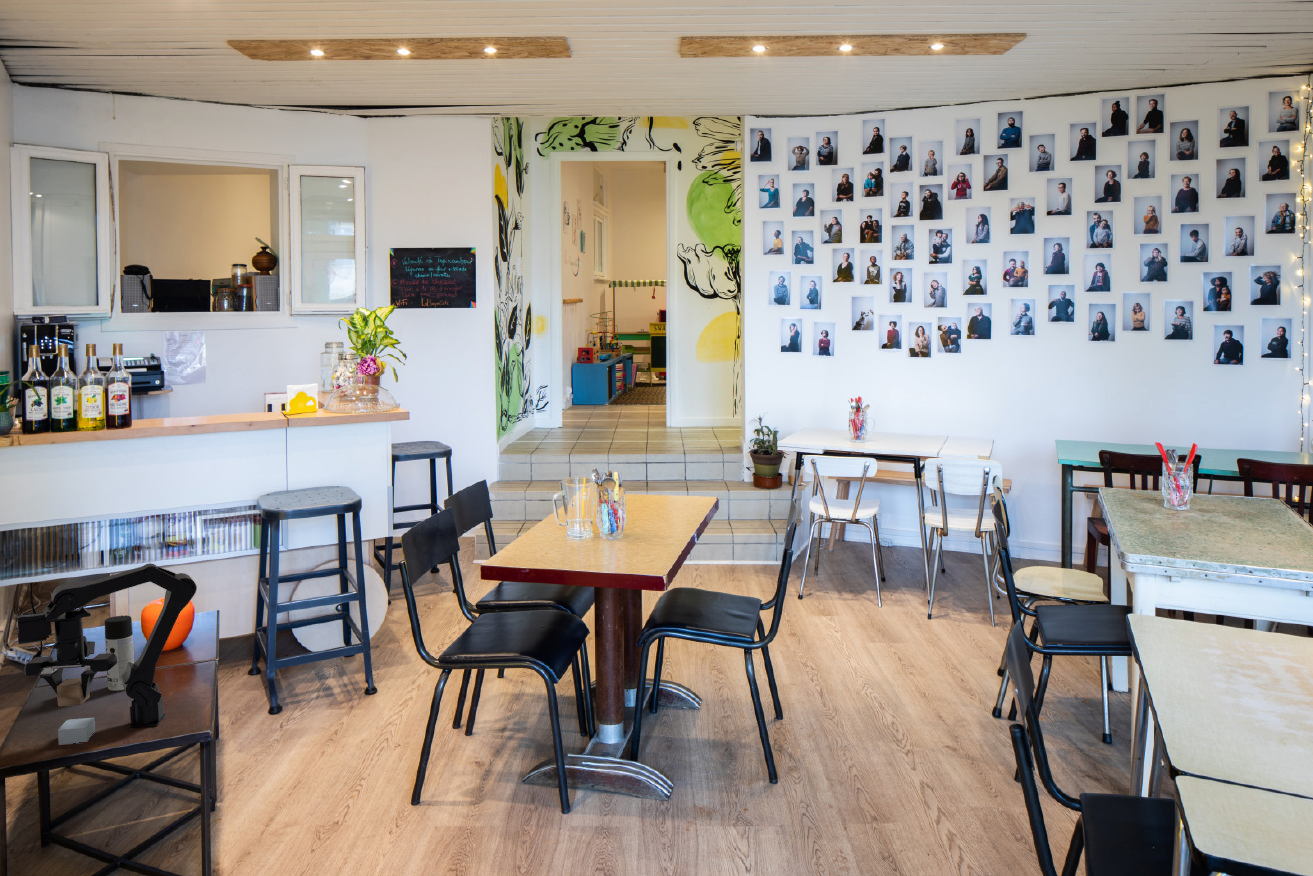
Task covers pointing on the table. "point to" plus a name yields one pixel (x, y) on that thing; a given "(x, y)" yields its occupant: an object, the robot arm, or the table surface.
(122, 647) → the spray can
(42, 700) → the table surface
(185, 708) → the table surface
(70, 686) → the walnut cube
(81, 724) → the slate block
